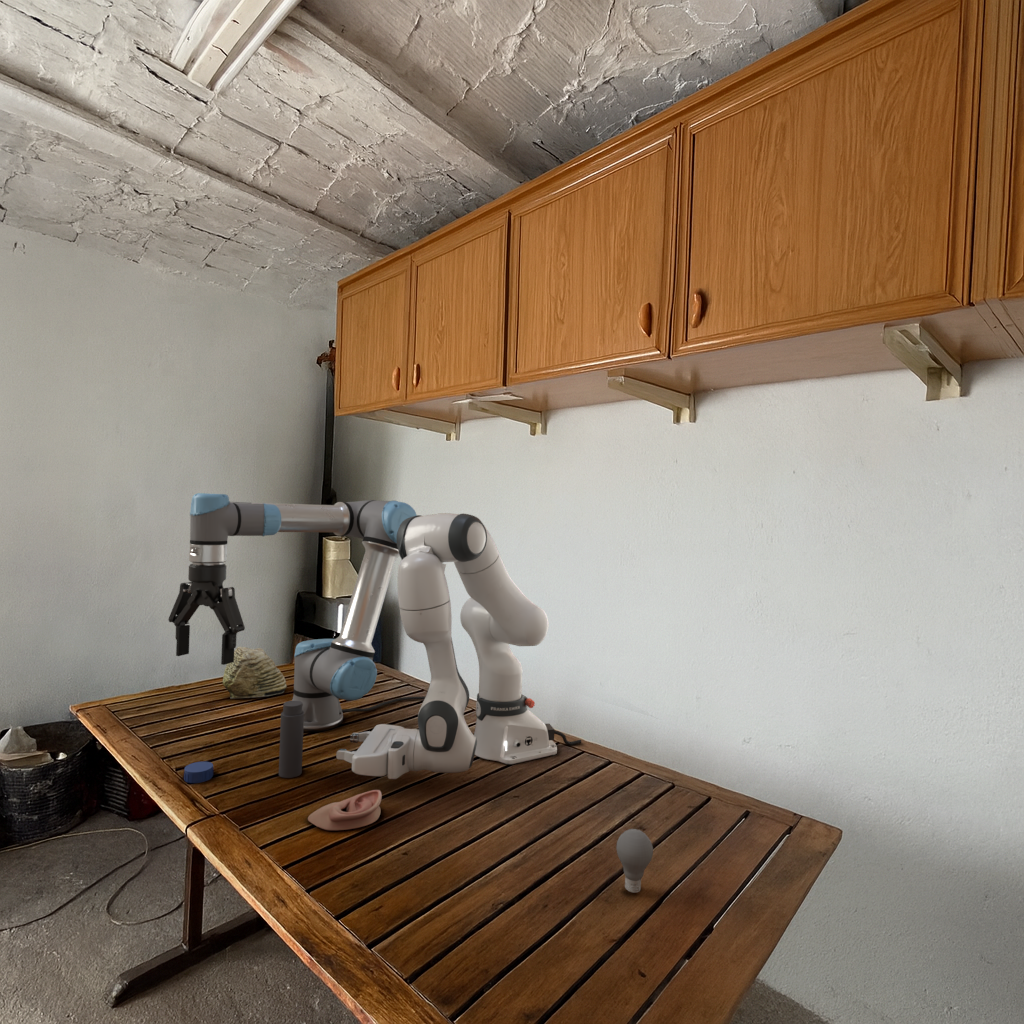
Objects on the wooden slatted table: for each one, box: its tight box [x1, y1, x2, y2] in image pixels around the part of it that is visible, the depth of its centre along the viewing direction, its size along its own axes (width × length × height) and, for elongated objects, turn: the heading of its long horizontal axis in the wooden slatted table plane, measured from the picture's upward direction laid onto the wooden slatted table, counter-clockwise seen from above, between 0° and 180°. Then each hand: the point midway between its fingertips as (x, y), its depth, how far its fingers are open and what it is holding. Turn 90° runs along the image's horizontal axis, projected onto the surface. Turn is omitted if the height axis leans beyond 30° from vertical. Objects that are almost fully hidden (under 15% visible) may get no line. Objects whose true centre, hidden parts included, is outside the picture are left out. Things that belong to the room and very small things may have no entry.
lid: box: [183, 761, 215, 784], centre depth 140 cm, size 6×6×2 cm
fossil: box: [222, 646, 288, 699], centre depth 198 cm, size 9×18×15 cm, turn 132°
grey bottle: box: [278, 700, 304, 779], centre depth 144 cm, size 5×5×16 cm
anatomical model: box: [307, 789, 383, 831], centre depth 126 cm, size 13×4×12 cm
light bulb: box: [615, 828, 654, 894], centre depth 106 cm, size 6×6×10 cm
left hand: (204, 659), depth 140 cm, fingers open, 13 cm apart
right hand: (344, 745), depth 144 cm, fingers open, 8 cm apart
